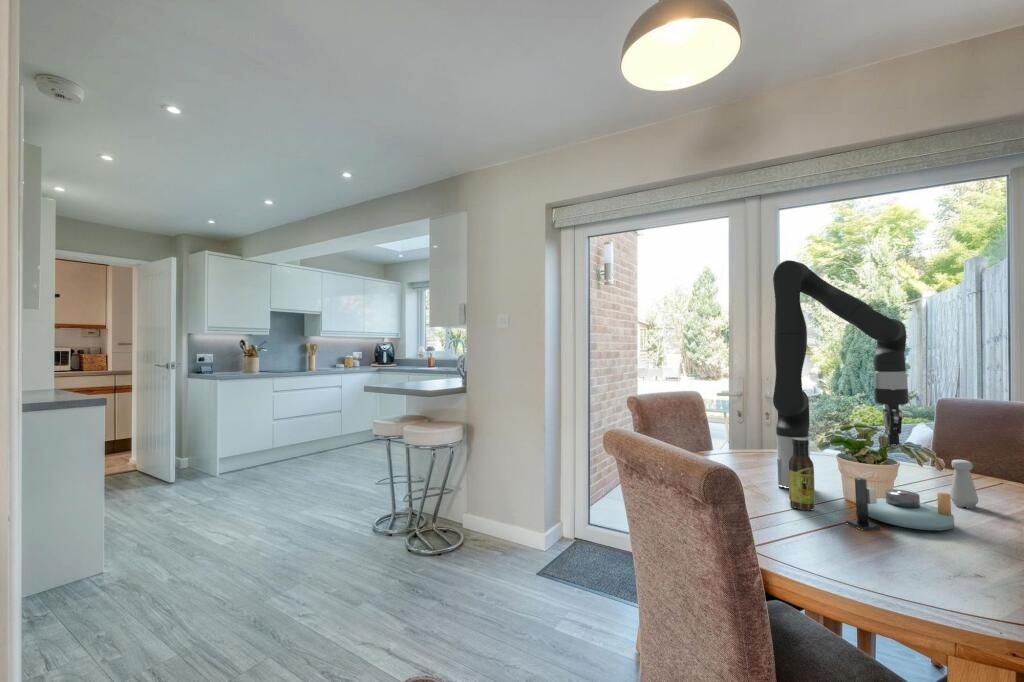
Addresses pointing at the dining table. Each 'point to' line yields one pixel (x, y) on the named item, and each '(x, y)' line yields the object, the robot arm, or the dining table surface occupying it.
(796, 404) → the robot arm
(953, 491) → the salt shaker
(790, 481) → the sauce bottle
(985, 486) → the dining table surface
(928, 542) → the dining table surface
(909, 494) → the cover
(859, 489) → the post
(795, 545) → the dining table surface
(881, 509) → the turntable
